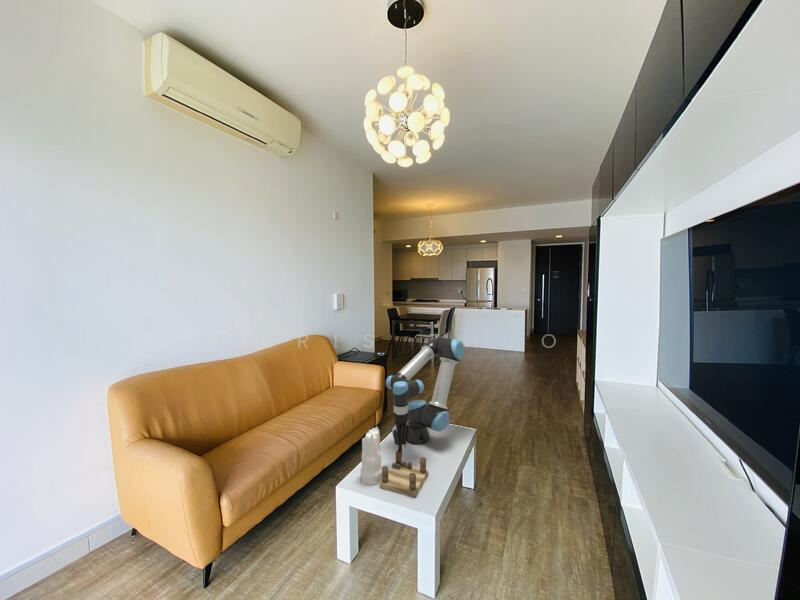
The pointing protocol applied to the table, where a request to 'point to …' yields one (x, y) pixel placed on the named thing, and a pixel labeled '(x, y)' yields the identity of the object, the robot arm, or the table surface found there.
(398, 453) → the hinged leg
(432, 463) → the table surface
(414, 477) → the stool seat
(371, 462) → the white tall rough piece
